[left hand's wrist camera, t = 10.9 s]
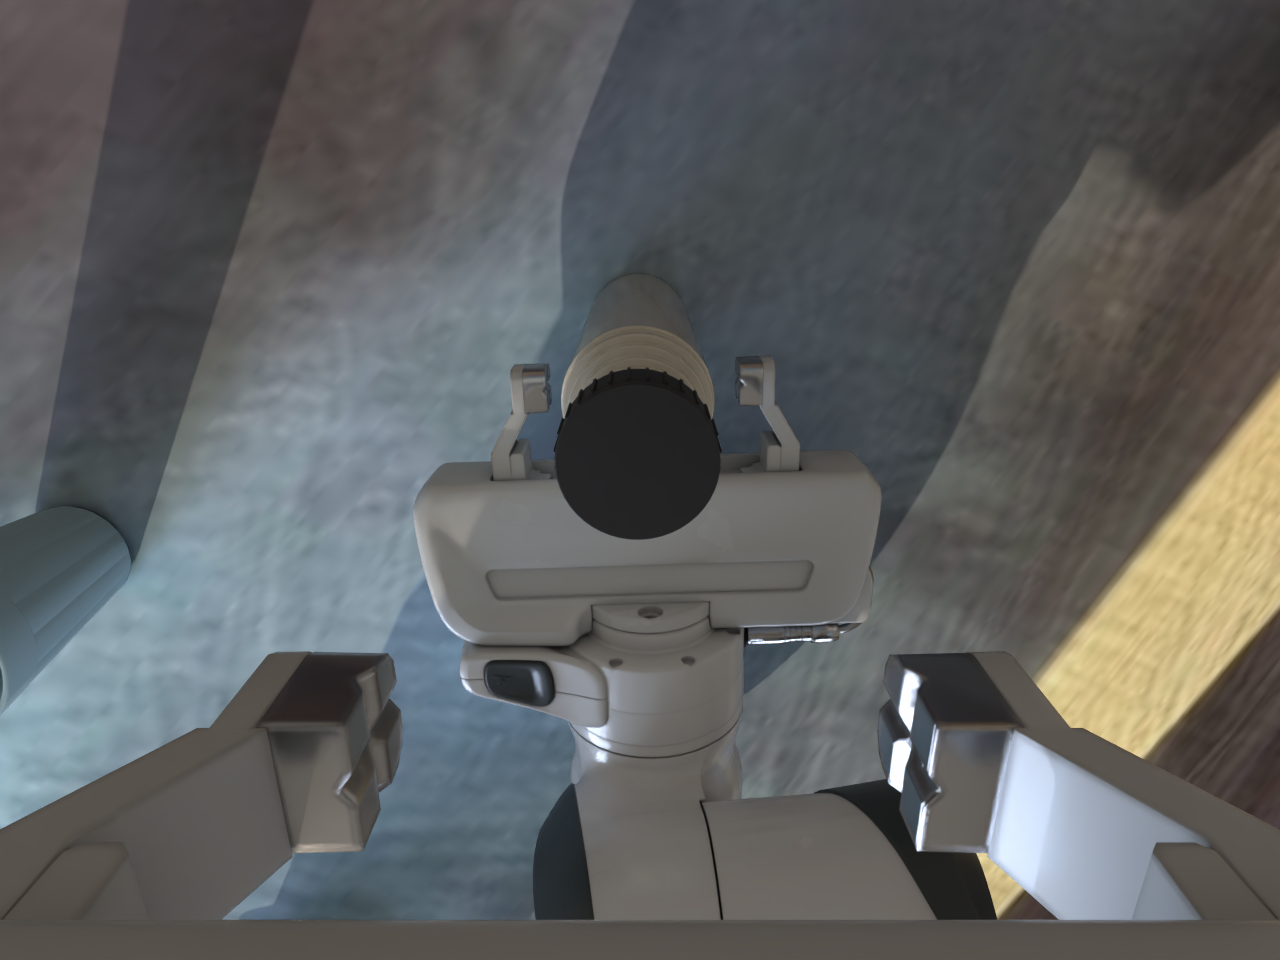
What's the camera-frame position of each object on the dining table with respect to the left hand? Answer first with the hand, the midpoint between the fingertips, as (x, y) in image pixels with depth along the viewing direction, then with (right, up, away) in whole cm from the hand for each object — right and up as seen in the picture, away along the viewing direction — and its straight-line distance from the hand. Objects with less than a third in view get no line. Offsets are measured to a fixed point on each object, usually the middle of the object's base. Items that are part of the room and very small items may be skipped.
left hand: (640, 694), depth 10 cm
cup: (-30, -1, +32) cm, 44 cm away
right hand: (0, +8, +22) cm, 24 cm away
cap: (0, +3, +9) cm, 9 cm away
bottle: (0, +10, +27) cm, 29 cm away
